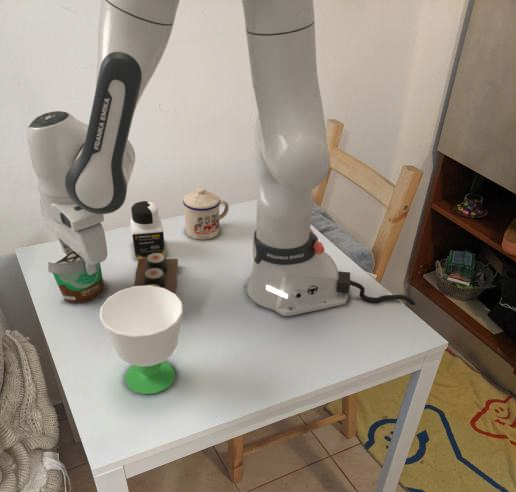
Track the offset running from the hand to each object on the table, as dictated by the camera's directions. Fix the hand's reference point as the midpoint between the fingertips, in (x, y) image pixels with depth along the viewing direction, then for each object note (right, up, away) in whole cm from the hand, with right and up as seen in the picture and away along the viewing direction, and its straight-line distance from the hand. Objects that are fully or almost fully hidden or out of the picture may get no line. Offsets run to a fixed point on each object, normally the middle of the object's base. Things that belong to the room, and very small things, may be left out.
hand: (79, 262), depth 115 cm
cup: (+17, -23, -13) cm, 32 cm away
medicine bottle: (+11, +6, +19) cm, 23 cm away
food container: (+1, -6, +5) cm, 8 cm away
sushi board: (+15, -5, +7) cm, 17 cm away
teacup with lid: (+24, +12, +27) cm, 38 cm away
